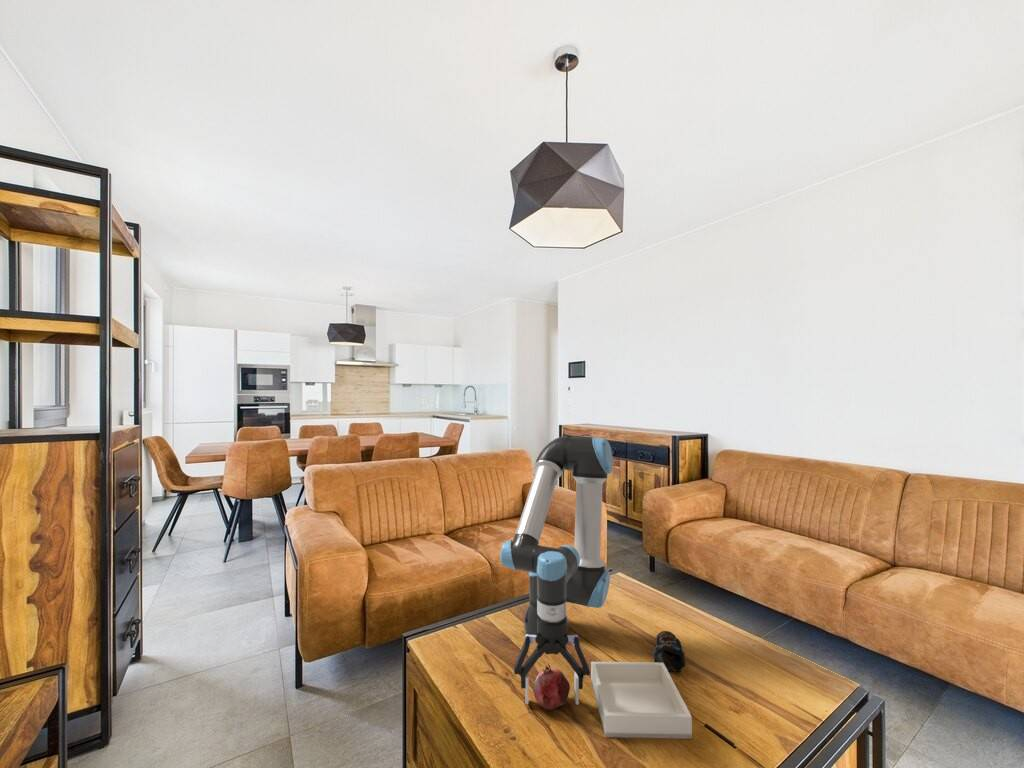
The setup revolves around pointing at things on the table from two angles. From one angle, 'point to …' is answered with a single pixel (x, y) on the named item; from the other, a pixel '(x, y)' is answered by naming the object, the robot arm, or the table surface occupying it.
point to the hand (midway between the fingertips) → (551, 700)
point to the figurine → (669, 651)
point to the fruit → (551, 688)
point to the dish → (639, 701)
